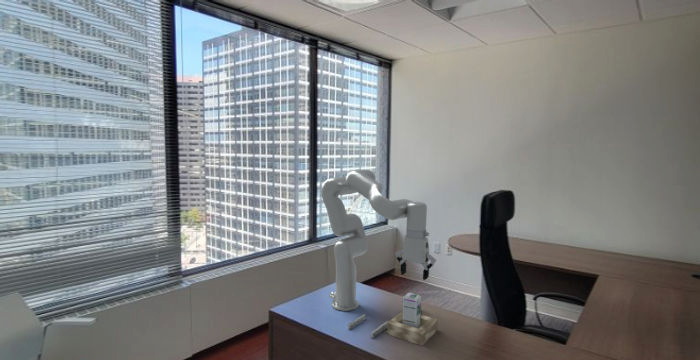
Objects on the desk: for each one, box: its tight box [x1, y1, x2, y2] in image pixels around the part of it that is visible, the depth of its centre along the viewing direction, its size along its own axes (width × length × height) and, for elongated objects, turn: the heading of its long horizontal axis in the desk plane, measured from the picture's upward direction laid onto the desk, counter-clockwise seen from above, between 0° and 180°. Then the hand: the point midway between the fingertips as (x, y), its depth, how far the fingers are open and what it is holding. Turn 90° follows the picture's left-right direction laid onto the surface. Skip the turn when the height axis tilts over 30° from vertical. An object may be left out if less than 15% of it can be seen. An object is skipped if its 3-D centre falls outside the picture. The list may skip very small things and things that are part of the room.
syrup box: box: [402, 292, 422, 329], centre depth 150 cm, size 6×6×14 cm
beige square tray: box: [386, 310, 439, 346], centre depth 150 cm, size 15×15×4 cm
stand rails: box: [347, 313, 389, 339], centre depth 152 cm, size 12×12×2 cm
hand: (414, 276), depth 148 cm, fingers open, 9 cm apart
